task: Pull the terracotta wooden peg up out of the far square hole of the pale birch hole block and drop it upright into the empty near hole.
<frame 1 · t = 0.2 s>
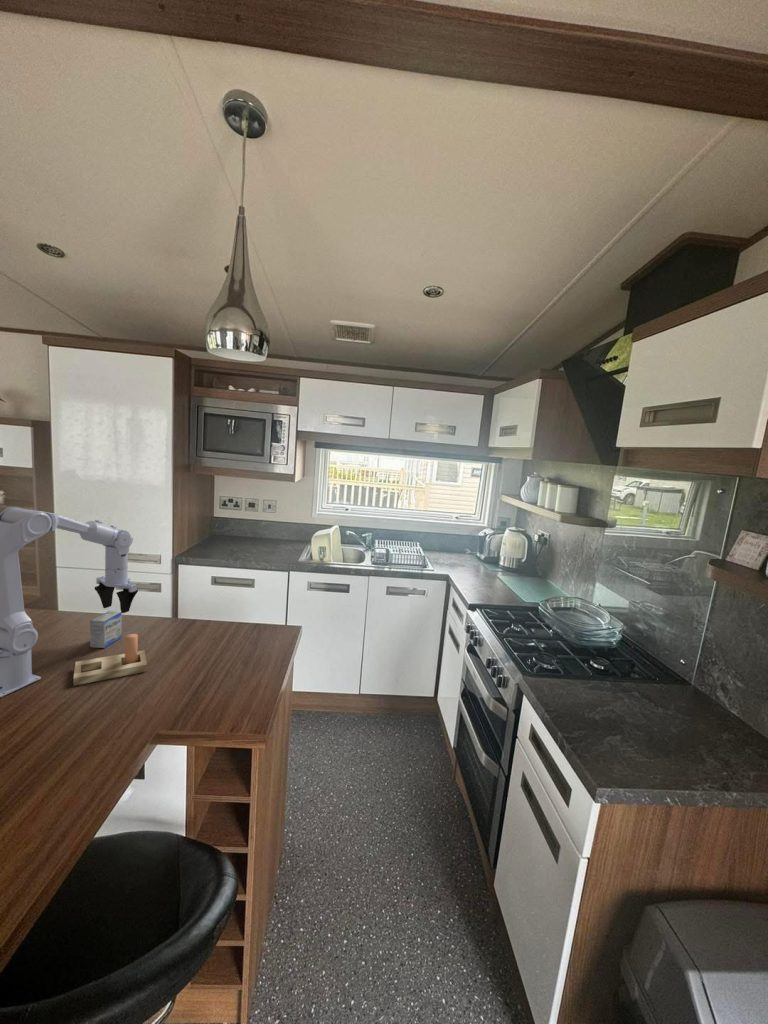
hand: (116, 609, 123), 10 cm above the worktop, tool pointing down, fingers open, 7 cm apart
hole block: (111, 670, 108), on the worktop
peg: (131, 666, 111), resting in hole block
medicine box: (106, 643, 123), on the worktop
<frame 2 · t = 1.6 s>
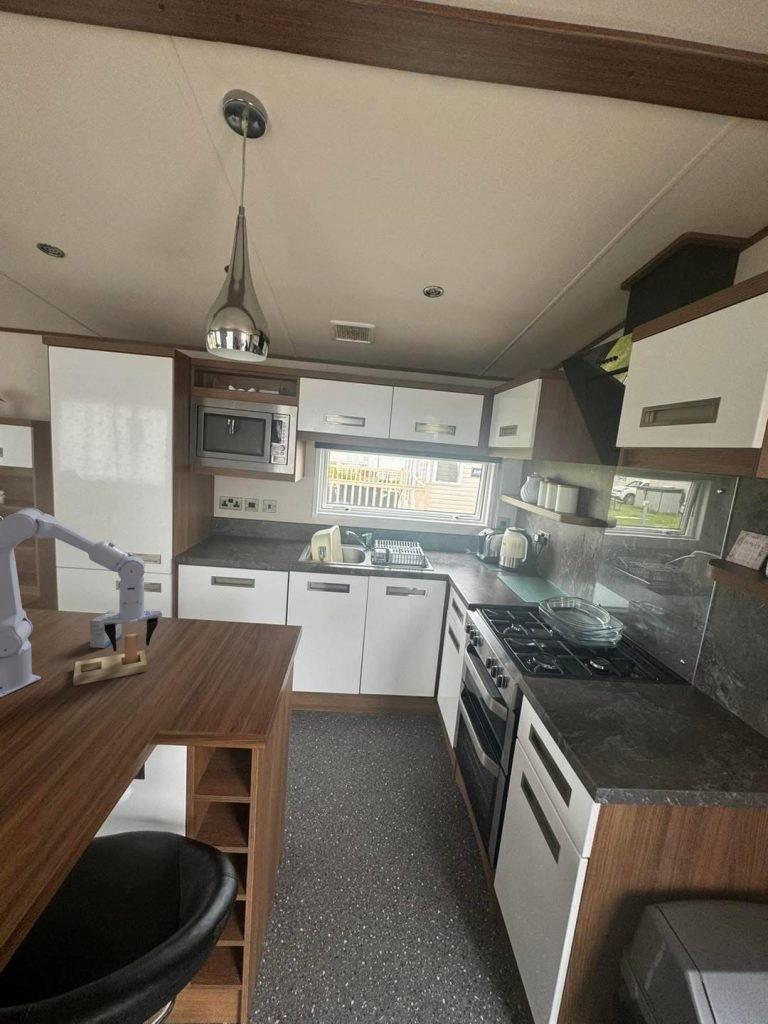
hand: (131, 646, 110), 6 cm above the worktop, tool pointing down, fingers open, 7 cm apart
nothing on the worktop moved.
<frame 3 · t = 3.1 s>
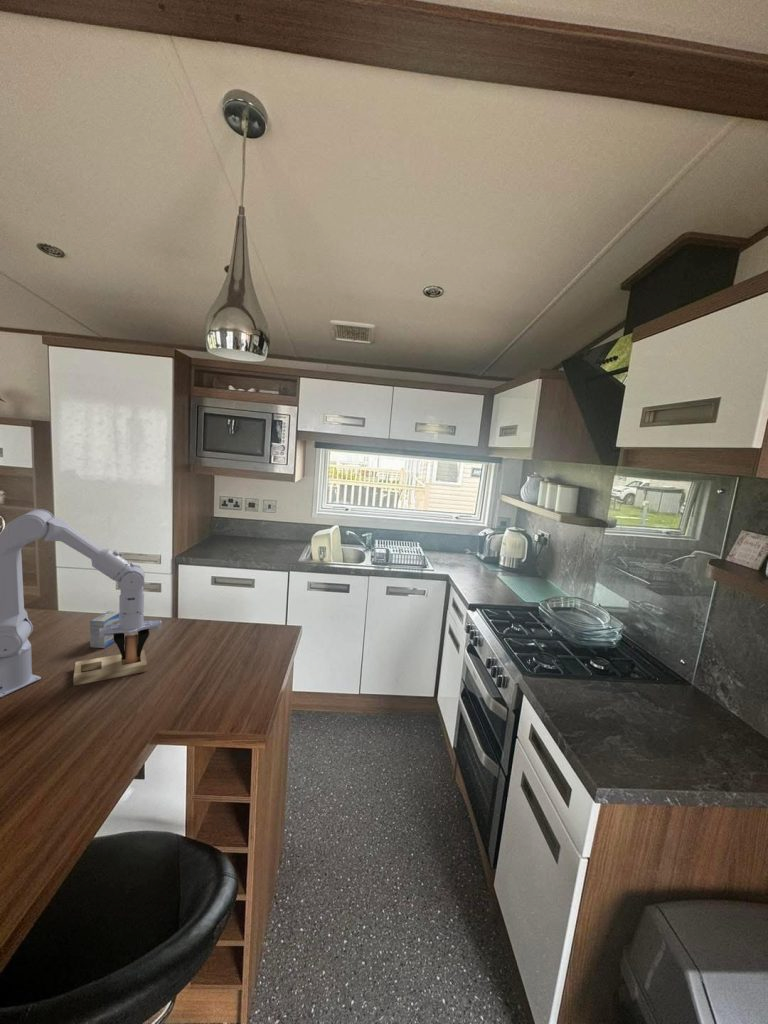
hand: (131, 656, 111), 3 cm above the worktop, tool pointing down, fingers closed on peg, 3 cm apart
peg: (131, 666, 111), resting in hole block, touching gripper
everything else where it was.
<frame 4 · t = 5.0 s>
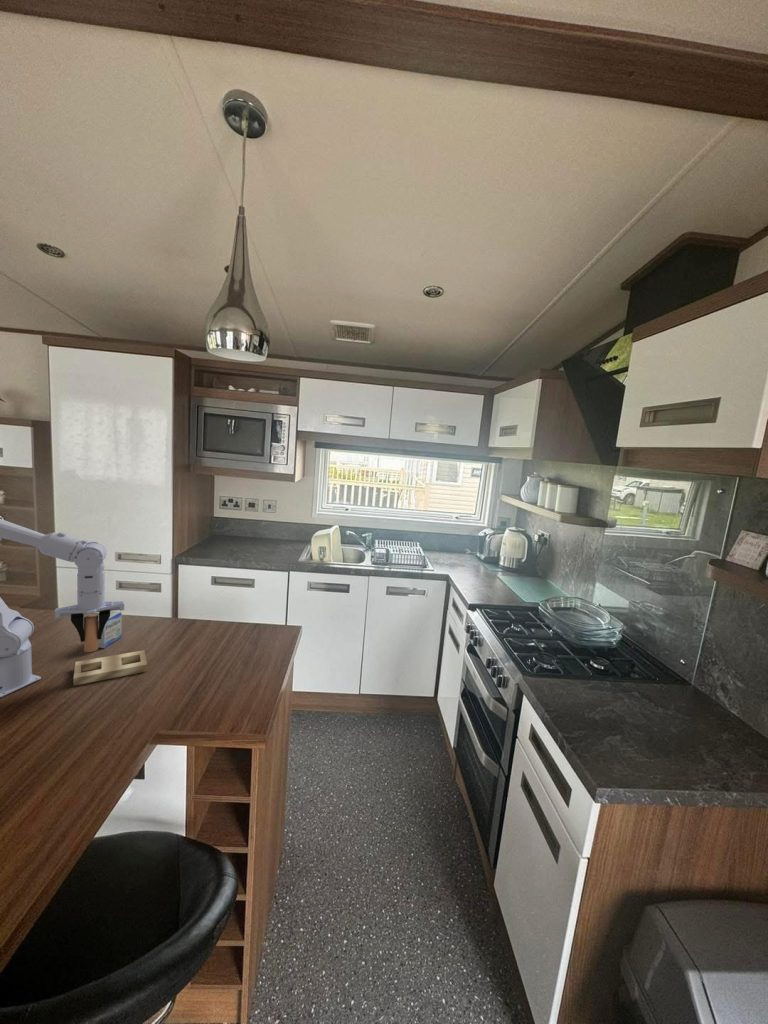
hand: (91, 639, 105), 10 cm above the worktop, tool pointing down, fingers closed on peg, 3 cm apart
peg: (91, 649, 105), point 7 cm above the worktop, touching gripper
everything else where it was.
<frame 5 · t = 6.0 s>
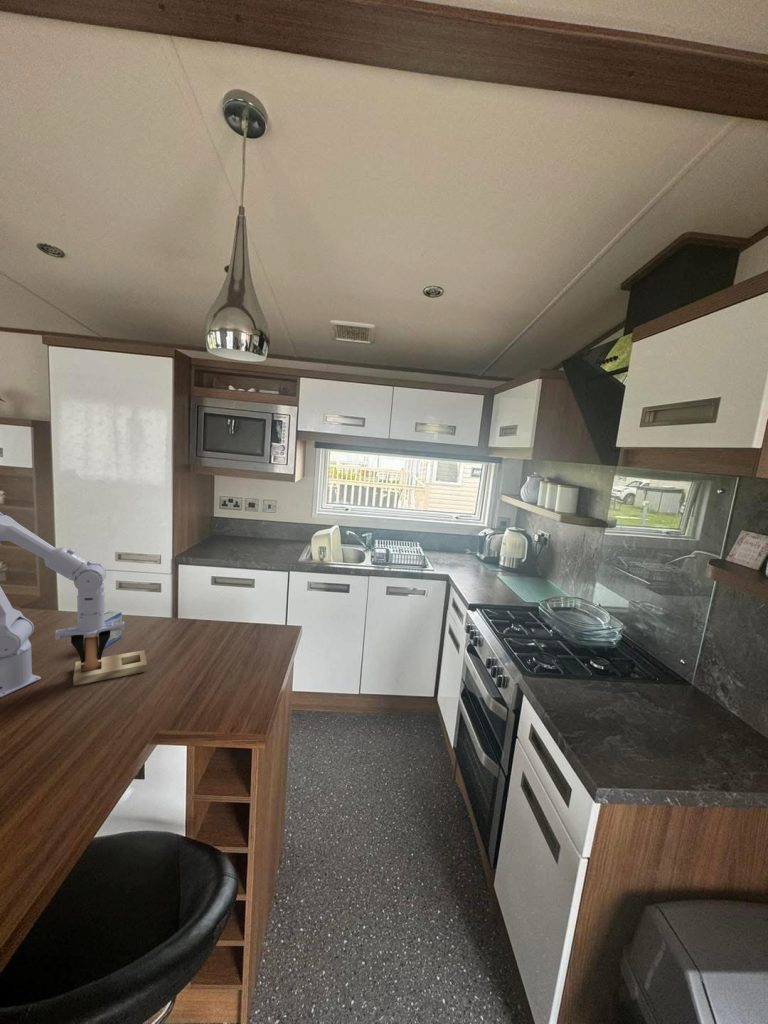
hand: (91, 659, 105), 4 cm above the worktop, tool pointing down, fingers closed on peg, 3 cm apart
peg: (91, 669, 106), point 1 cm above the worktop, touching gripper
everything else where it was.
when the fingers open (3 cm above the worktop, at t = 6.9 s): peg stays where it is, resting in hole block.
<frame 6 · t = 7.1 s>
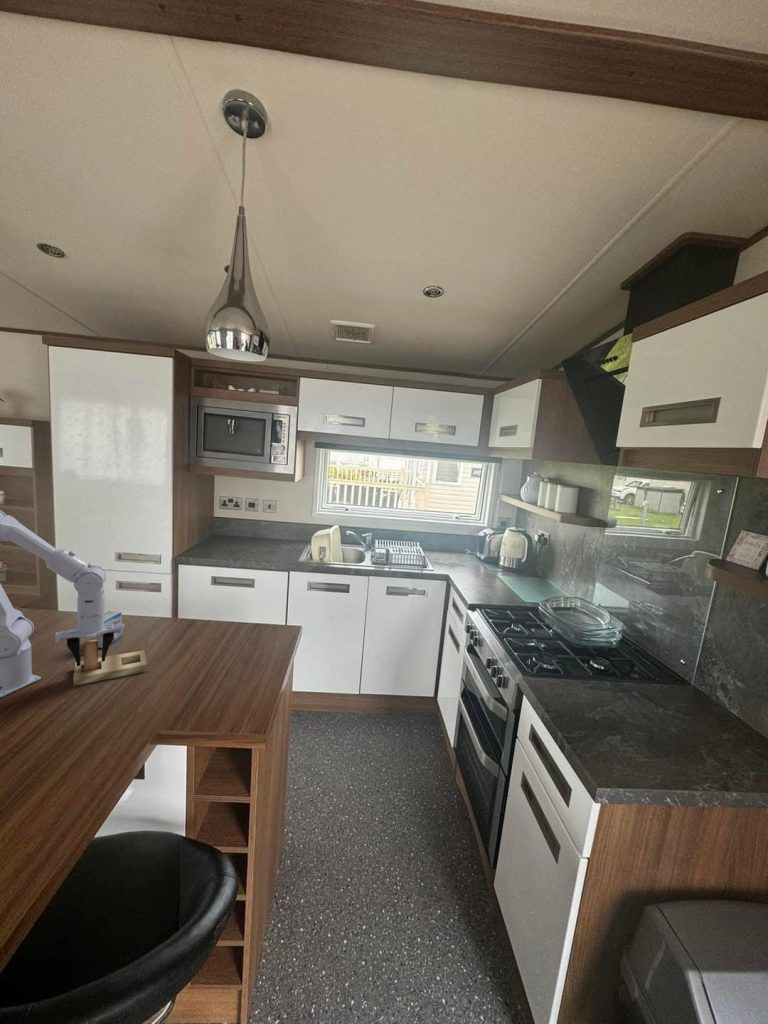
hand: (91, 661, 105), 3 cm above the worktop, tool pointing down, fingers open, 5 cm apart
peg: (91, 673, 106), resting in hole block
everything else where it was.
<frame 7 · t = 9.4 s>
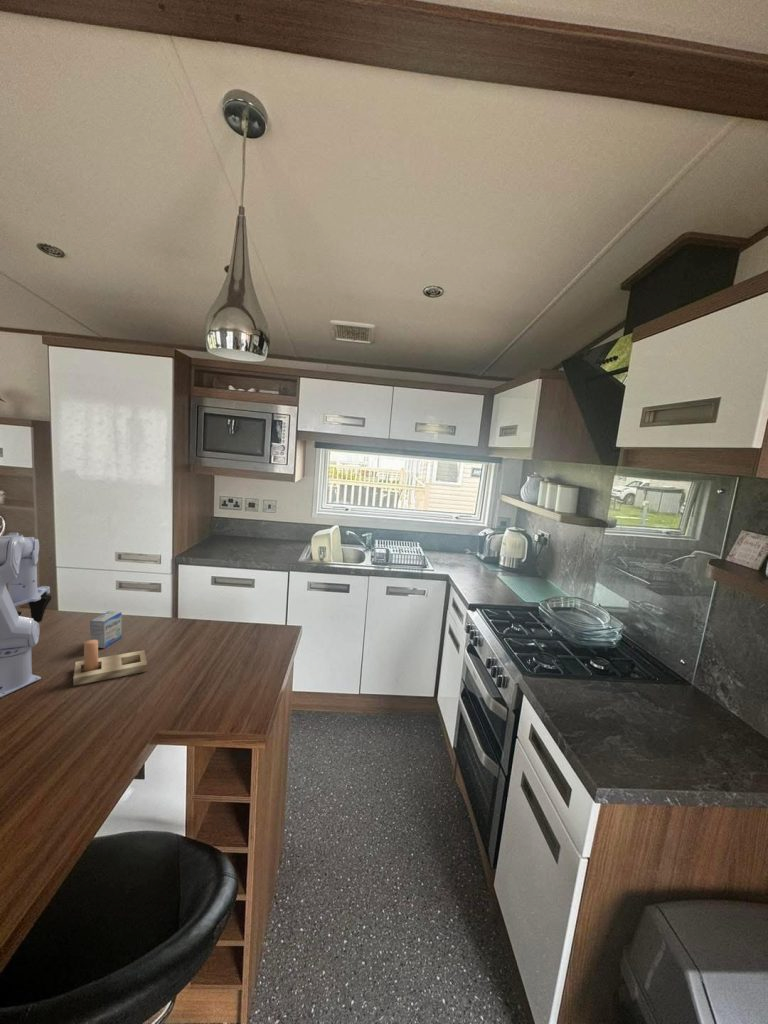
hand: (24, 627, 108), 10 cm above the worktop, tool pointing down, fingers open, 7 cm apart
nothing on the worktop moved.
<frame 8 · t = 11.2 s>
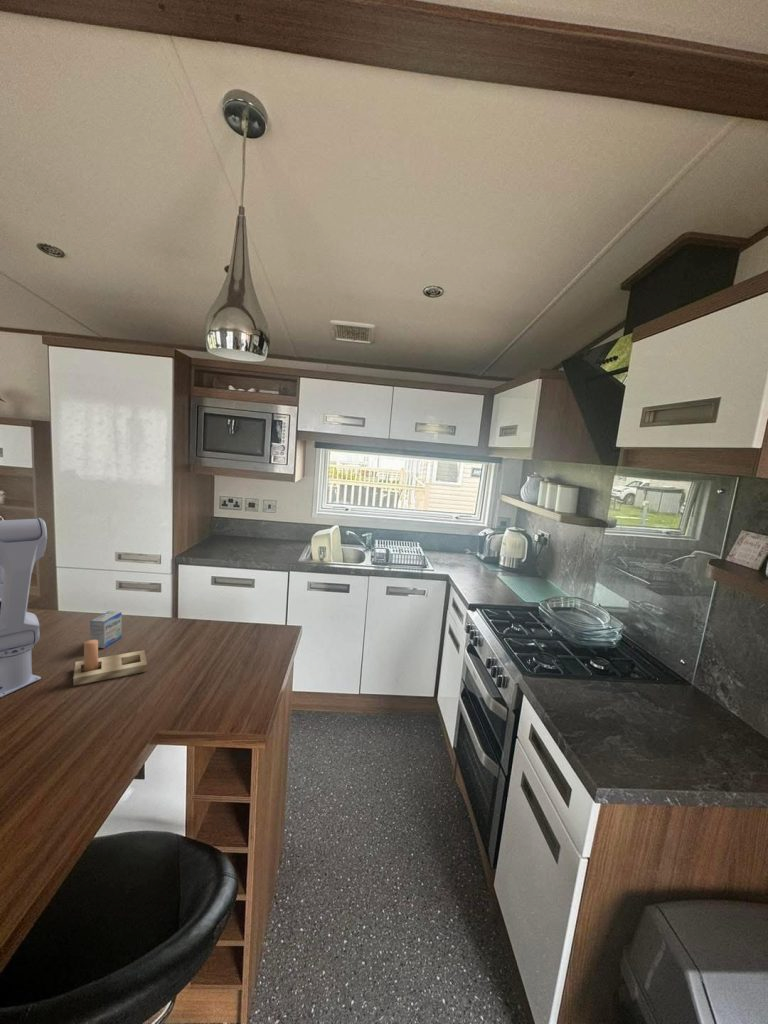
nothing on the worktop moved.
at the end: peg 0.0 cm from the target spot on the hole block, point 0.0 cm above the hole block's base; peg tilted 0°; the gripper is holding nothing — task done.
